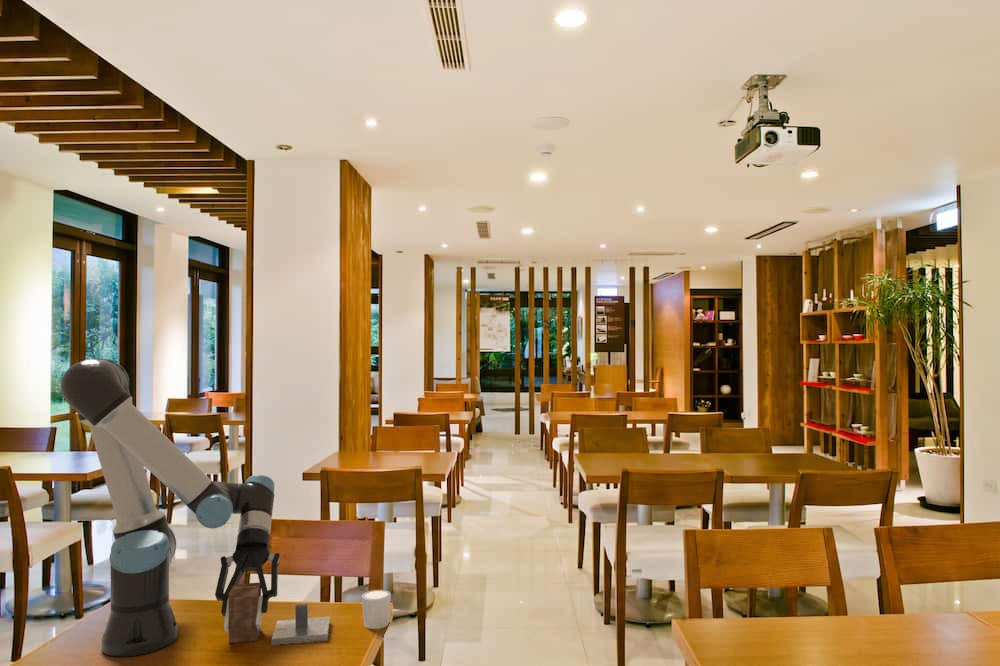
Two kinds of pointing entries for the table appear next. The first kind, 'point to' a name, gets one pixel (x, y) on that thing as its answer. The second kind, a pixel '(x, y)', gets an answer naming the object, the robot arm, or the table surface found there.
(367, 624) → the white cup
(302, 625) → the grey stand base
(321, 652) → the table surface
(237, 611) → the brown slotted box
